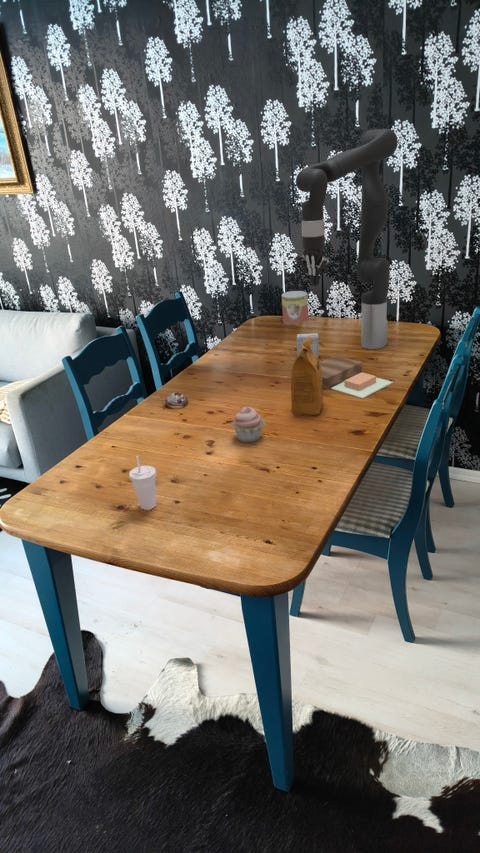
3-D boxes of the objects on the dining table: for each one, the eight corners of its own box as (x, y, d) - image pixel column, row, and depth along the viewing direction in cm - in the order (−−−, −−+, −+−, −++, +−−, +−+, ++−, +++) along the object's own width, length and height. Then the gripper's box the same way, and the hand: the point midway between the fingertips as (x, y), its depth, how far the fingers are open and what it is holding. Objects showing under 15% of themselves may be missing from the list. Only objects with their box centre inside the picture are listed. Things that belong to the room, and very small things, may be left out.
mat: (361, 374, 214) (361, 373, 214) (392, 383, 205) (392, 381, 205) (330, 389, 205) (330, 387, 205) (362, 398, 196) (362, 397, 196)
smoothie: (136, 500, 153) (126, 451, 147) (162, 497, 154) (153, 448, 147) (134, 515, 148) (124, 464, 141) (161, 512, 148) (152, 461, 142)
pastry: (183, 410, 200) (182, 396, 198) (162, 409, 202) (160, 395, 200) (191, 400, 207) (190, 386, 205) (170, 399, 209) (168, 385, 207)
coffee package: (327, 401, 196) (326, 335, 187) (320, 418, 186) (318, 349, 176) (297, 399, 199) (294, 334, 190) (287, 416, 189) (284, 348, 179)
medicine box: (318, 354, 235) (318, 332, 231) (318, 358, 231) (318, 336, 227) (297, 355, 236) (296, 333, 232) (297, 359, 232) (296, 337, 228)
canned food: (281, 325, 272) (280, 298, 267) (284, 317, 282) (282, 291, 277) (307, 324, 270) (306, 297, 265) (309, 316, 280) (308, 290, 275)
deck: (335, 365, 223) (335, 355, 222) (362, 373, 215) (362, 362, 213) (301, 381, 213) (300, 370, 211) (327, 389, 205) (327, 378, 203)
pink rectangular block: (376, 376, 205) (376, 382, 206) (361, 372, 209) (361, 378, 210) (359, 384, 200) (359, 391, 201) (344, 380, 204) (344, 386, 205)
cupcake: (242, 449, 173) (239, 416, 168) (227, 436, 180) (224, 405, 176) (271, 439, 176) (269, 407, 172) (255, 427, 184) (253, 397, 180)
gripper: (336, 233, 203) (336, 285, 211) (306, 230, 212) (307, 281, 220) (320, 237, 199) (322, 290, 206) (290, 234, 208) (293, 285, 215)
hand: (314, 285), depth 213 cm, fingers closed
